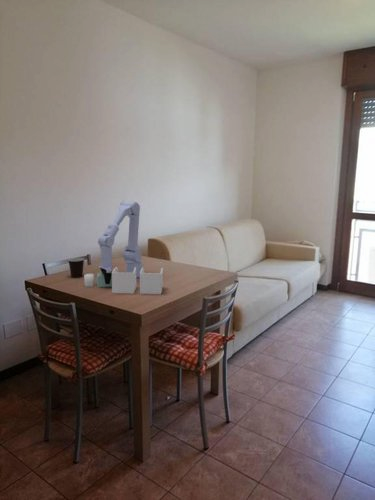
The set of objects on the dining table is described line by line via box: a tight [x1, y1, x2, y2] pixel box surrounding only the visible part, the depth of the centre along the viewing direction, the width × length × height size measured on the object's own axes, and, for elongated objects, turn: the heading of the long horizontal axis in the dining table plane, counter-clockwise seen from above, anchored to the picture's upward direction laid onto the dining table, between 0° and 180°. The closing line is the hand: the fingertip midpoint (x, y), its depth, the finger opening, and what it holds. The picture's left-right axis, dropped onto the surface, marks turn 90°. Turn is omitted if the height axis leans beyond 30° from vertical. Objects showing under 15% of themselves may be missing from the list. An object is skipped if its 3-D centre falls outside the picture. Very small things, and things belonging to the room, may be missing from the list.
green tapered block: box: [96, 272, 112, 288], centre depth 199 cm, size 10×6×6 cm, turn 111°
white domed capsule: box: [83, 273, 95, 288], centre depth 198 cm, size 5×5×6 cm
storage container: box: [111, 266, 164, 295], centre depth 192 cm, size 25×11×11 cm, turn 91°
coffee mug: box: [68, 257, 85, 279], centre depth 215 cm, size 12×9×10 cm
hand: (106, 282), depth 200 cm, fingers closed on green tapered block, 6 cm apart
